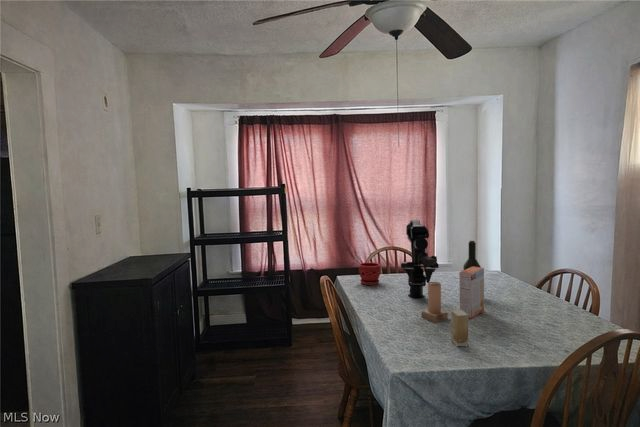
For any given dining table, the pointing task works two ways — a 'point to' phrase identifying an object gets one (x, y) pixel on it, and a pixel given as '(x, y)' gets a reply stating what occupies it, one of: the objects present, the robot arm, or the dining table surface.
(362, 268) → the plant pot
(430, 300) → the tan lidded canister
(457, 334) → the skincare box
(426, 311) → the plinth
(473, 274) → the cracker box
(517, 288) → the dining table surface
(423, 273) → the robot arm
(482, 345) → the dining table surface
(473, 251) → the wine bottle
